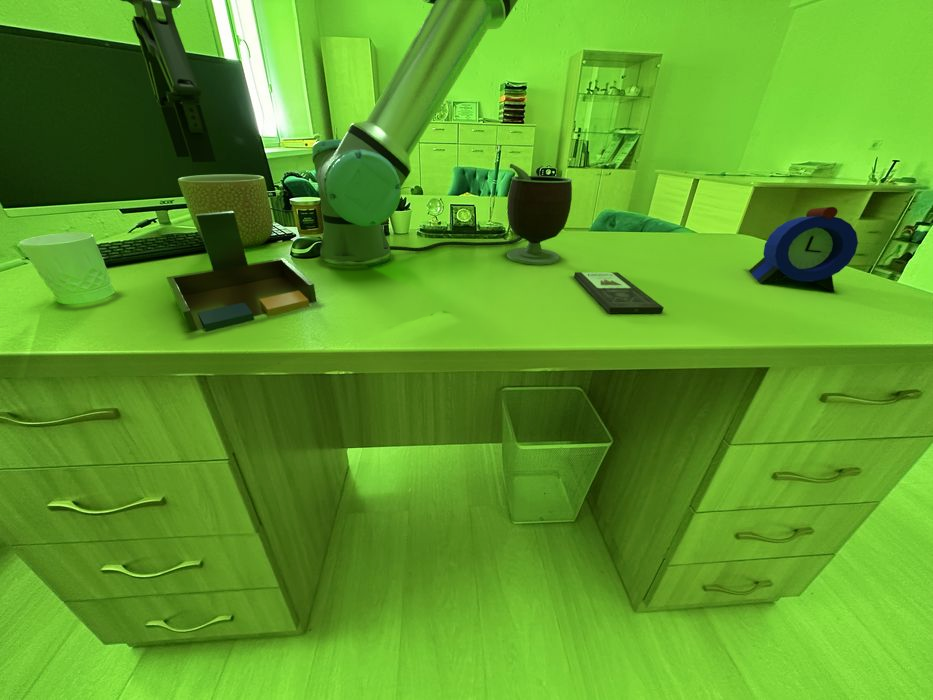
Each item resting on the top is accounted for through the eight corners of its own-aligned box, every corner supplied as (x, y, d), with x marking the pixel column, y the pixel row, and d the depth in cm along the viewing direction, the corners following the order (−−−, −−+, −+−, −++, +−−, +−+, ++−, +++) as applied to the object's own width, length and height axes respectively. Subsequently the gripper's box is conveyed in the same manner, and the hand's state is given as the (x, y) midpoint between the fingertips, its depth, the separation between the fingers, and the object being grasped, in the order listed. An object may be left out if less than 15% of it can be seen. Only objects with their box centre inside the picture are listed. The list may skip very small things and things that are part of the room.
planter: (224, 258, 81) (201, 183, 74) (187, 246, 89) (162, 177, 82) (293, 243, 94) (279, 177, 86) (255, 233, 102) (239, 173, 94)
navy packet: (246, 309, 56) (244, 302, 55) (254, 320, 53) (252, 312, 52) (199, 319, 52) (197, 312, 51) (206, 332, 50) (203, 324, 49)
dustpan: (287, 277, 68) (273, 207, 61) (317, 305, 60) (305, 228, 53) (174, 299, 58) (142, 218, 51) (192, 336, 50) (157, 247, 43)
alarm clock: (761, 284, 74) (796, 205, 67) (746, 267, 84) (775, 197, 77) (836, 294, 70) (882, 211, 63) (811, 275, 80) (849, 202, 73)
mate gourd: (536, 247, 96) (546, 161, 86) (574, 260, 86) (591, 165, 76) (487, 254, 89) (491, 161, 79) (522, 270, 79) (532, 166, 69)
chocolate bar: (610, 307, 59) (574, 272, 75) (608, 313, 60) (574, 276, 75) (663, 307, 60) (617, 272, 75) (662, 312, 60) (616, 276, 76)
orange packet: (300, 297, 60) (298, 290, 59) (309, 306, 58) (308, 299, 57) (260, 306, 57) (258, 298, 56) (269, 316, 54) (267, 309, 54)
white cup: (47, 314, 55) (7, 247, 50) (66, 296, 61) (32, 234, 56) (114, 305, 58) (83, 241, 53) (126, 289, 64) (99, 230, 59)
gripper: (89, -25, 49) (153, 155, 60) (89, -98, 33) (176, 165, 44) (159, -10, 54) (207, 154, 64) (188, -70, 37) (246, 163, 48)
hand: (195, 159), depth 54 cm, fingers open, 13 cm apart
